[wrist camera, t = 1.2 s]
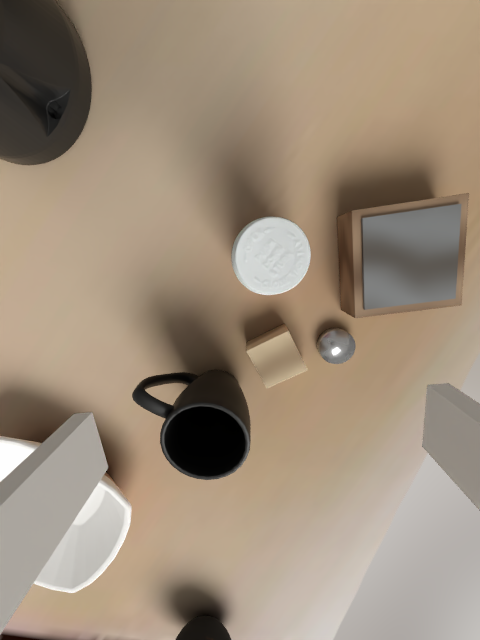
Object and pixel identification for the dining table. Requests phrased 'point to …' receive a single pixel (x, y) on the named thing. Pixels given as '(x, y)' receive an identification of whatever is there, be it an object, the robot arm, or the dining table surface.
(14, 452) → the bowl
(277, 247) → the pill bottle
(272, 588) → the dining table surface
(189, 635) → the speaker
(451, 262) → the walnut stand
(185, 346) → the dining table surface
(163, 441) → the mug
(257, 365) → the oak offcut
